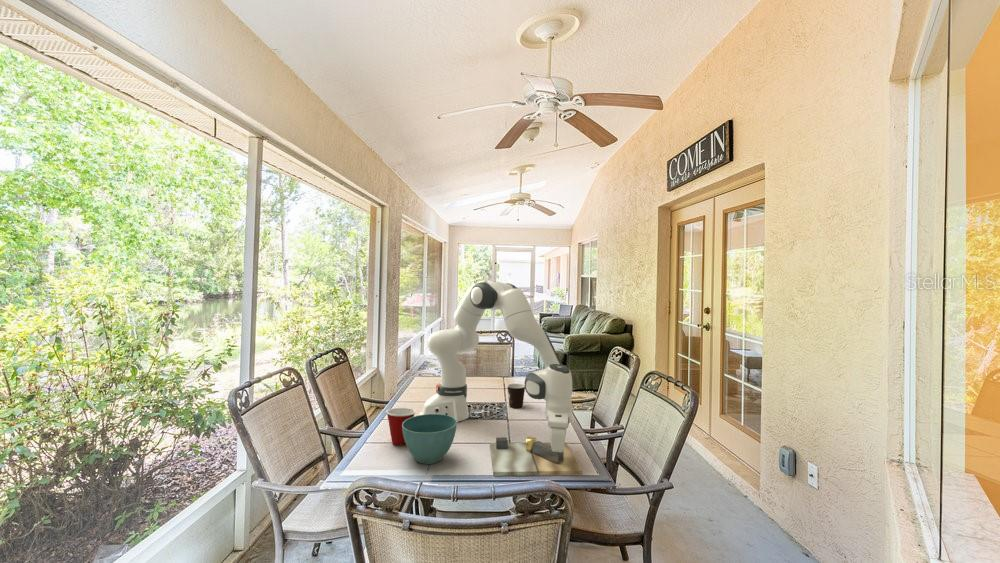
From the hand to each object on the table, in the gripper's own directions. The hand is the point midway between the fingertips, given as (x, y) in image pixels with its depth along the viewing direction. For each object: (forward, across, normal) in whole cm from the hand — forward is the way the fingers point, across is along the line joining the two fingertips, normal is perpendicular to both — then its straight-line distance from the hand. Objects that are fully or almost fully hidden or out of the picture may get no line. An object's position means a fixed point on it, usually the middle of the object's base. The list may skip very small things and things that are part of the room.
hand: (558, 454), depth 136 cm
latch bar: (0, +1, -5) cm, 5 cm away
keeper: (+1, -4, -20) cm, 20 cm away
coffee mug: (+3, -56, -22) cm, 60 cm away
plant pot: (+2, +8, -43) cm, 44 cm away
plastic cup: (+2, -3, -58) cm, 58 cm away
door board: (+2, +1, -9) cm, 9 cm away
